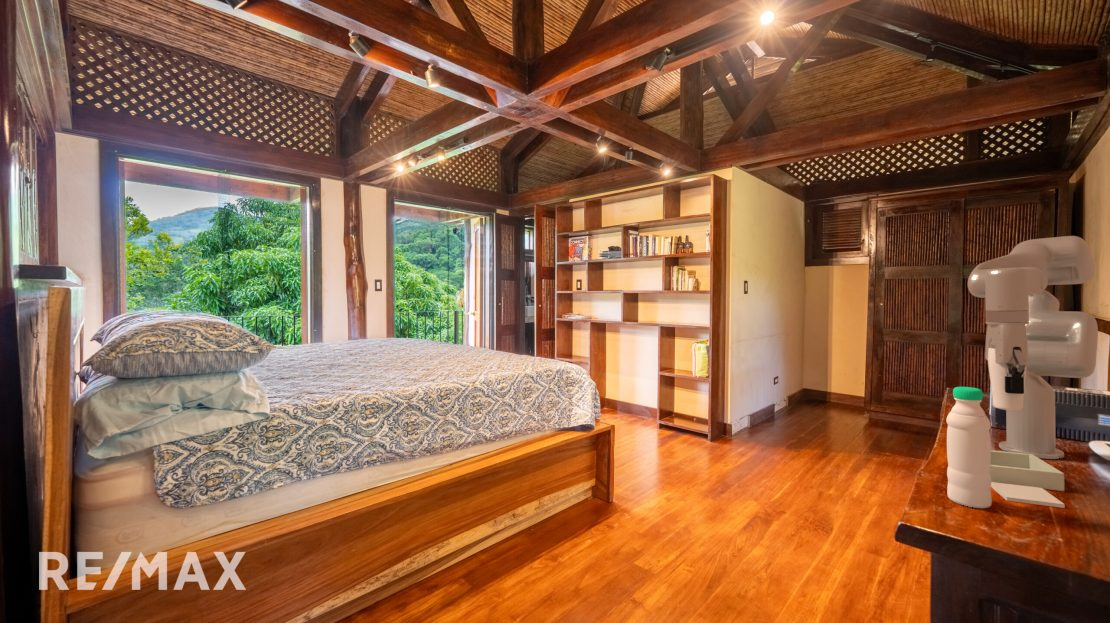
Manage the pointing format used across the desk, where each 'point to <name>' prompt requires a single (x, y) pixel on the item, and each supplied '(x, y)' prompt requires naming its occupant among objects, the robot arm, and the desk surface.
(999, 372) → the drinking glass
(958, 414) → the water bottle
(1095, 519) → the desk surface
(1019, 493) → the ceramic tile
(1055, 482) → the beige square frame
